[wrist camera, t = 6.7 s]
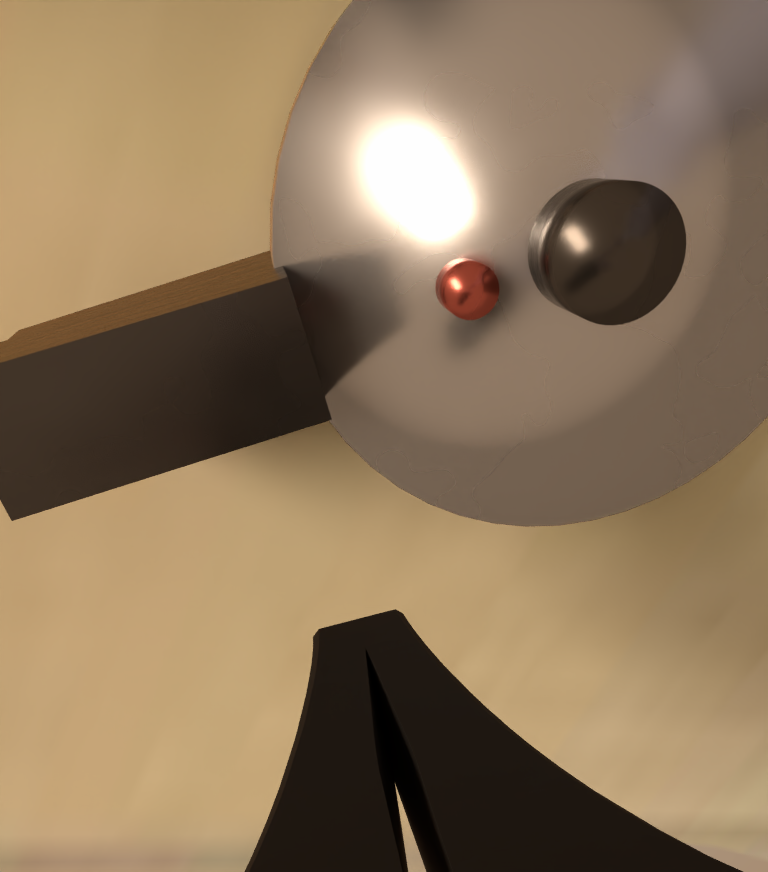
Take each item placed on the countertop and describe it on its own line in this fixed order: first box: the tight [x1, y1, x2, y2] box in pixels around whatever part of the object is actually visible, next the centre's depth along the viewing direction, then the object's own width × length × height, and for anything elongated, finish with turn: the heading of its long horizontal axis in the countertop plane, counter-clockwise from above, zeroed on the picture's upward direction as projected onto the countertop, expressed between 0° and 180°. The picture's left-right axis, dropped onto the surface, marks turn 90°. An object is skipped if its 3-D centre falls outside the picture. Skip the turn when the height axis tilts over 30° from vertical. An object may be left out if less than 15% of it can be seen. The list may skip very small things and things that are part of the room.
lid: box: [0, 0, 768, 526], centre depth 13 cm, size 17×12×2 cm
